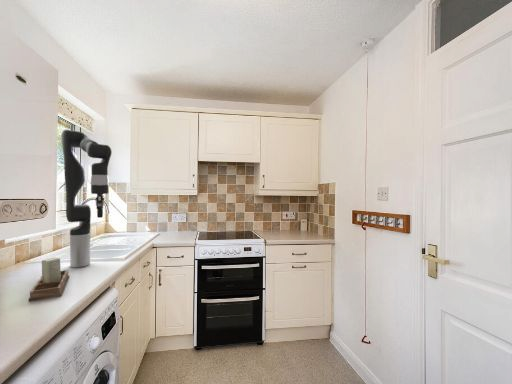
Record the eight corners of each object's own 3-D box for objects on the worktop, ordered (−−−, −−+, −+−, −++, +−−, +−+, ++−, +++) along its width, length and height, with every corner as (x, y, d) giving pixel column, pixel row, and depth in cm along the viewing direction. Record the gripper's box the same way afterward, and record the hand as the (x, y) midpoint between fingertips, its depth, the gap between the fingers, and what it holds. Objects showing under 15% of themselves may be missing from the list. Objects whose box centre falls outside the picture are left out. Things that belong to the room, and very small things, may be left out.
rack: (42, 280, 122) (42, 273, 122) (69, 277, 127) (69, 269, 127) (28, 301, 100) (28, 292, 100) (61, 296, 105) (61, 287, 105)
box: (55, 282, 117) (54, 257, 117) (61, 283, 115) (61, 258, 115) (41, 286, 112) (41, 260, 112) (47, 287, 110) (47, 261, 110)
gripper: (91, 184, 138) (92, 215, 138) (90, 184, 126) (90, 218, 126) (108, 184, 142) (108, 215, 142) (108, 184, 129) (108, 217, 130)
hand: (100, 216), depth 134 cm, fingers open, 8 cm apart
